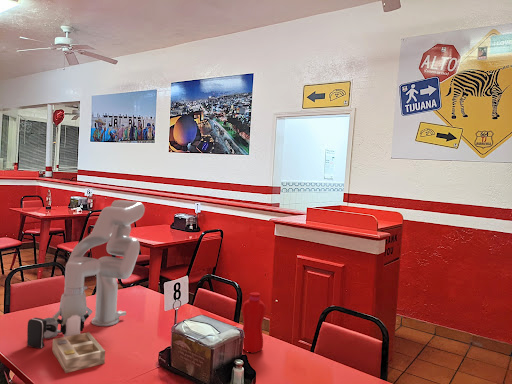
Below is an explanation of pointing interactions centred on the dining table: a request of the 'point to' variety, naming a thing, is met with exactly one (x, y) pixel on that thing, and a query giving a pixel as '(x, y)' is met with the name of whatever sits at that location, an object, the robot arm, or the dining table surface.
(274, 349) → the dining table surface
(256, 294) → the water bottle
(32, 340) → the battery charger
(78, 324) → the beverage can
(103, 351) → the holder block
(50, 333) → the mug
